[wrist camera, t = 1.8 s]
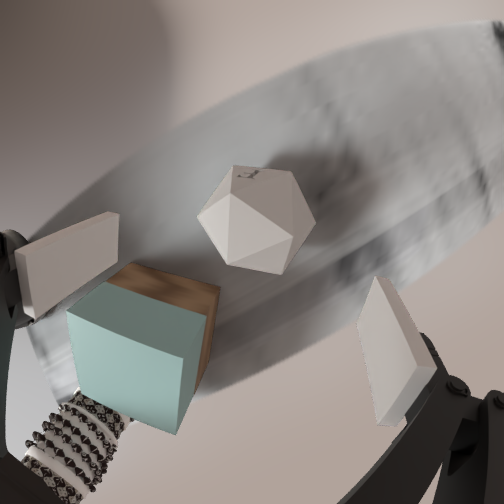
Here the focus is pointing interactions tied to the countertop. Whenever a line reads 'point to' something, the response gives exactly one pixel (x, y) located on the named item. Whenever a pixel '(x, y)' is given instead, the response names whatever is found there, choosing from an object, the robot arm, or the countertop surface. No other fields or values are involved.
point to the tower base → (174, 298)
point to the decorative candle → (75, 447)
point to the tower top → (136, 354)
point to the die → (257, 218)
